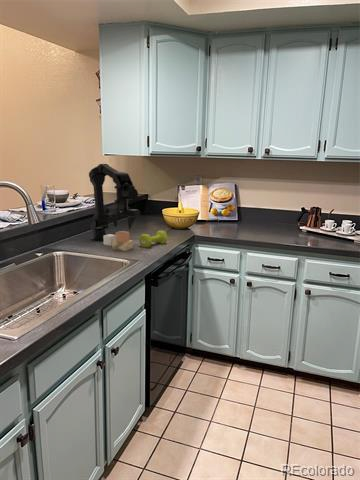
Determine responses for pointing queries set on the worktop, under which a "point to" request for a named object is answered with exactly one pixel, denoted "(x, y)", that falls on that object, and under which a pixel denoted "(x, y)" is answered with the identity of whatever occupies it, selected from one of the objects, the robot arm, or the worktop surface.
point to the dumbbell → (153, 239)
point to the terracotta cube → (122, 236)
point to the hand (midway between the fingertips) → (122, 227)
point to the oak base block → (122, 245)
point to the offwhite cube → (109, 239)
